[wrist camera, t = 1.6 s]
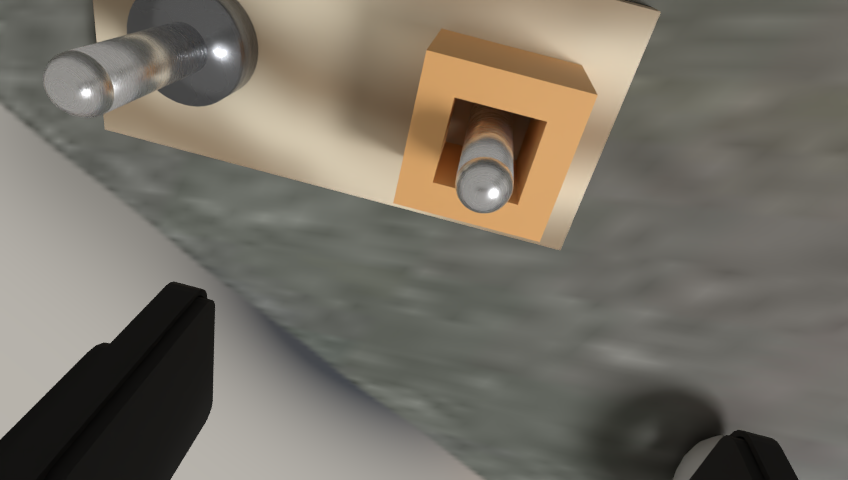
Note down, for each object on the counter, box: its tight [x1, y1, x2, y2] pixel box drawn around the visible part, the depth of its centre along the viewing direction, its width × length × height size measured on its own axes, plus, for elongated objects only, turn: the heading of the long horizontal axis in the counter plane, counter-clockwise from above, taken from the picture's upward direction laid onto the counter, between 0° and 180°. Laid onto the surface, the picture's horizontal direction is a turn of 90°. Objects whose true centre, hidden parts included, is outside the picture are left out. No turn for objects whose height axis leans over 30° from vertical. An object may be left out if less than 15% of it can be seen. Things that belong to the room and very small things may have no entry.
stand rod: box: [455, 103, 514, 213], centre depth 21 cm, size 2×2×9 cm
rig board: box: [93, 0, 661, 250], centre depth 26 cm, size 12×25×2 cm, turn 78°
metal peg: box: [43, 0, 258, 118], centre depth 21 cm, size 5×5×10 cm
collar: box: [393, 29, 598, 242], centre depth 23 cm, size 6×6×5 cm
